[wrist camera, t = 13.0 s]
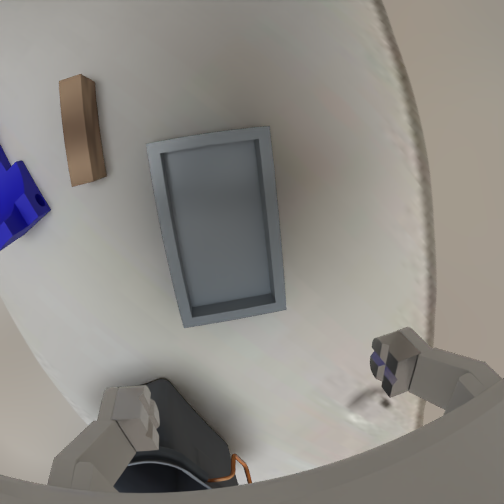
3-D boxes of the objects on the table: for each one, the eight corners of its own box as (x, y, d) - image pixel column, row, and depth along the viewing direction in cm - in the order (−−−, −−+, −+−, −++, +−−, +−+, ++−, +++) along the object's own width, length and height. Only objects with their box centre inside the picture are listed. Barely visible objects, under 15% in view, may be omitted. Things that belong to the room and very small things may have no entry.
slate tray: (150, 143, 25) (146, 143, 23) (263, 127, 26) (269, 125, 24) (184, 314, 31) (184, 328, 29) (280, 297, 32) (286, 309, 30)
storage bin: (84, 386, 32) (58, 477, 19) (186, 344, 33) (189, 452, 19) (175, 466, 40) (178, 540, 27) (262, 439, 41) (284, 518, 27)
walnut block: (75, 88, 22) (58, 81, 18) (95, 82, 22) (80, 74, 19) (87, 180, 25) (72, 186, 22) (107, 175, 25) (93, 181, 22)
